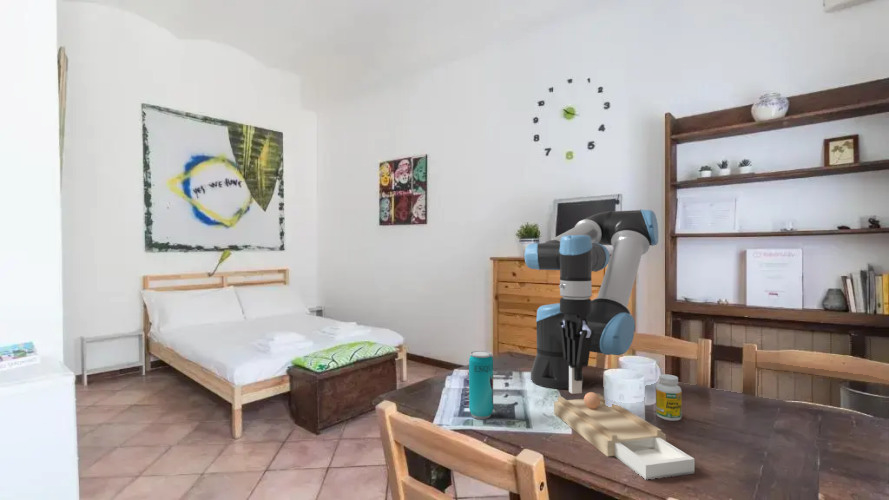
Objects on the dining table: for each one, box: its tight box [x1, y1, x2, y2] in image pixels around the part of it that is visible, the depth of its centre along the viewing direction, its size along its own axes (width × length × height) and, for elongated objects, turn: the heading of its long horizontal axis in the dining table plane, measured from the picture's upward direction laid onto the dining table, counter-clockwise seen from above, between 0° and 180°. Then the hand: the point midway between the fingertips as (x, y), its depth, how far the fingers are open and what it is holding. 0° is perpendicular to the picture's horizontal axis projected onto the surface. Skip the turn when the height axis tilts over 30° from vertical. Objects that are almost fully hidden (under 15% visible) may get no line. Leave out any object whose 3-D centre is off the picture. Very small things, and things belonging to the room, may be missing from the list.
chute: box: [553, 392, 667, 457], centre depth 96 cm, size 22×13×4 cm, turn 13°
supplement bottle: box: [655, 373, 683, 422], centre depth 104 cm, size 5×5×10 cm
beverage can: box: [468, 350, 494, 420], centre depth 105 cm, size 6×6×15 cm
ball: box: [583, 391, 600, 409], centre depth 101 cm, size 4×4×4 cm
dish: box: [613, 437, 696, 481], centre depth 82 cm, size 10×10×3 cm
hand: (575, 392), depth 108 cm, fingers closed
